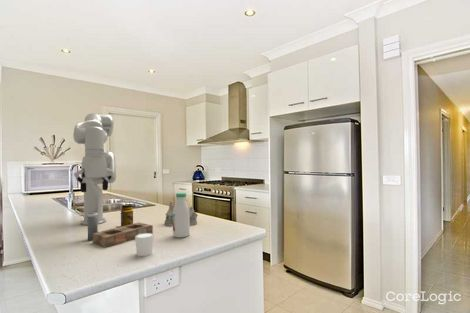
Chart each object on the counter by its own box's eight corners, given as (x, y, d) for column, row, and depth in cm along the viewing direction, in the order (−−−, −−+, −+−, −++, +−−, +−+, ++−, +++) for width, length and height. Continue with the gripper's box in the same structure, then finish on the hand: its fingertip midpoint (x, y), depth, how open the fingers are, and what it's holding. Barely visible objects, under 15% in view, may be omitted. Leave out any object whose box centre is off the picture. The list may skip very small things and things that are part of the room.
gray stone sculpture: (160, 223, 144) (162, 196, 144) (186, 219, 155) (187, 195, 155) (174, 230, 132) (176, 202, 132) (200, 226, 143) (202, 199, 143)
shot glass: (138, 250, 102) (138, 233, 102) (155, 249, 102) (155, 232, 102) (132, 257, 95) (132, 238, 95) (151, 256, 96) (151, 237, 96)
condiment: (135, 227, 136) (135, 205, 136) (117, 230, 131) (117, 206, 131) (132, 224, 142) (132, 203, 142) (115, 227, 137) (115, 204, 137)
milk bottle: (192, 233, 124) (192, 192, 124) (184, 238, 116) (184, 194, 117) (178, 232, 126) (178, 191, 126) (169, 237, 119) (169, 194, 119)
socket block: (92, 242, 112) (92, 233, 112) (138, 230, 131) (138, 222, 131) (106, 247, 105) (106, 237, 105) (153, 233, 124) (153, 225, 124)
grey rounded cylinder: (85, 239, 116) (85, 213, 116) (94, 237, 120) (94, 211, 120) (90, 241, 114) (90, 214, 114) (99, 238, 117) (99, 212, 117)
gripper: (108, 154, 127) (108, 188, 127) (70, 153, 113) (70, 192, 112) (116, 153, 123) (117, 189, 123) (78, 152, 109) (78, 193, 108)
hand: (94, 190), depth 118 cm, fingers open, 9 cm apart
